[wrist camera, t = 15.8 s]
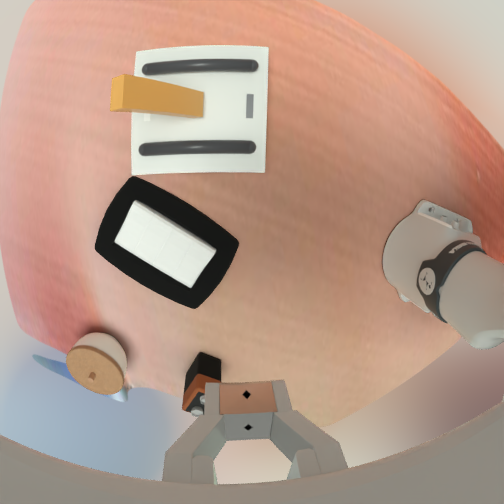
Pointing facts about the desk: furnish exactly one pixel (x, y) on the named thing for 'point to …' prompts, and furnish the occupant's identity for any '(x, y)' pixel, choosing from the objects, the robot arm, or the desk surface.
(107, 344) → the lidded jar
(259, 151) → the box
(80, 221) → the desk surface
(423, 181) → the desk surface
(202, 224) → the black picture frame
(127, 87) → the lever
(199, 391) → the battery
